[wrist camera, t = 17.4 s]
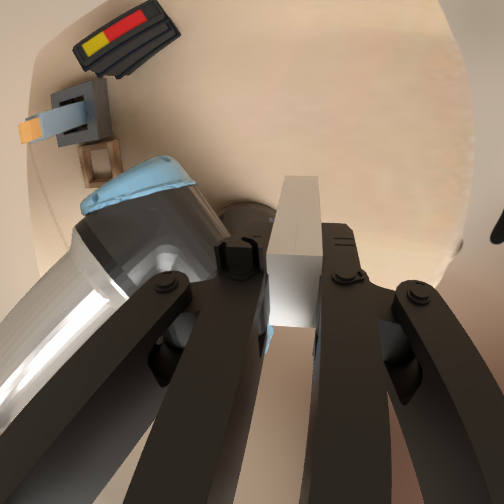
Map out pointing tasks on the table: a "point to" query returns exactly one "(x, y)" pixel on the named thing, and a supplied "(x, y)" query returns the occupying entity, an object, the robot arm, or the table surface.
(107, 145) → the brown square frame
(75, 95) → the port
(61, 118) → the plug
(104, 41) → the magazine
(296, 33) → the table surface
